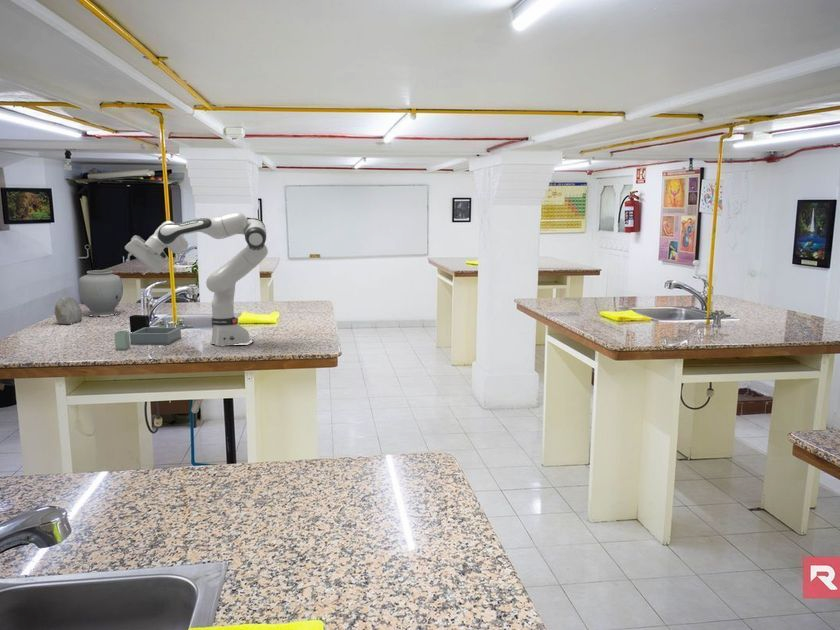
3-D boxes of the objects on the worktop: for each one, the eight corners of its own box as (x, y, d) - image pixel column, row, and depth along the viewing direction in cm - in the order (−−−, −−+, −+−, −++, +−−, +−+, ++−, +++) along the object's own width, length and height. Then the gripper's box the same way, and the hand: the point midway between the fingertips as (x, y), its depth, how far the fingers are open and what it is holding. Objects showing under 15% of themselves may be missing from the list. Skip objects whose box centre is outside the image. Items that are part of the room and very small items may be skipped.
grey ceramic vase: (133, 313, 441) (130, 270, 436) (101, 319, 417) (98, 273, 412) (103, 311, 451) (100, 268, 446) (71, 316, 426) (67, 271, 421)
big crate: (181, 338, 358) (180, 327, 357) (168, 344, 340) (167, 333, 339) (145, 337, 358) (144, 327, 357) (130, 344, 340) (129, 333, 339)
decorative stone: (67, 326, 394) (53, 325, 395) (88, 320, 413) (74, 319, 414) (65, 299, 391) (50, 298, 392) (86, 294, 410) (72, 294, 412)
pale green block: (129, 348, 332) (128, 331, 330) (125, 350, 327) (124, 332, 325) (120, 347, 332) (119, 330, 330) (115, 350, 327) (114, 332, 326)
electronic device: (145, 333, 371) (144, 316, 369) (130, 332, 373) (129, 315, 371) (150, 332, 375) (149, 315, 373) (134, 331, 377) (133, 314, 375)
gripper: (136, 232, 318) (117, 253, 314) (170, 259, 327) (152, 280, 323) (135, 234, 324) (116, 254, 320) (168, 260, 332) (150, 281, 328)
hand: (134, 268), depth 321 cm, fingers open, 8 cm apart
